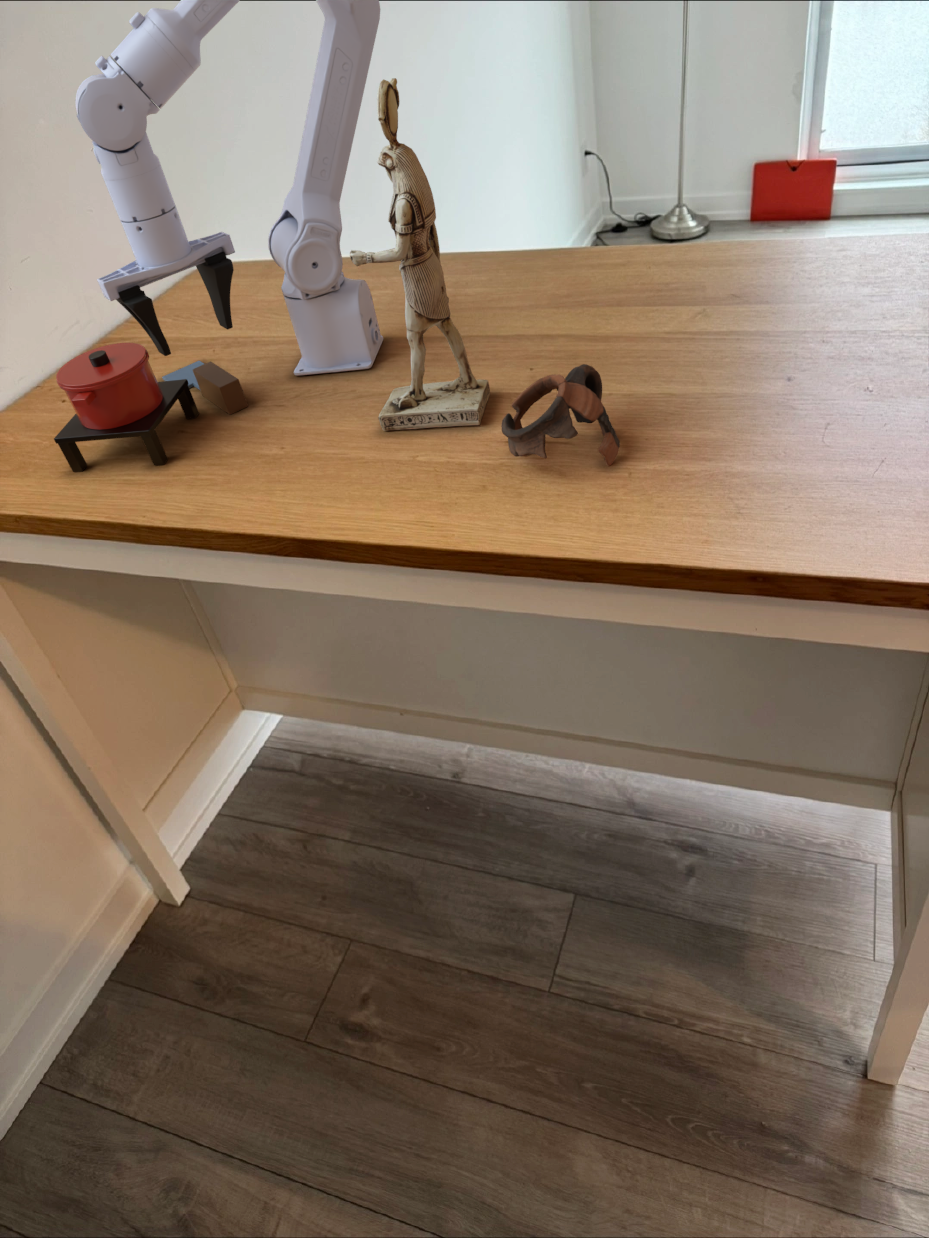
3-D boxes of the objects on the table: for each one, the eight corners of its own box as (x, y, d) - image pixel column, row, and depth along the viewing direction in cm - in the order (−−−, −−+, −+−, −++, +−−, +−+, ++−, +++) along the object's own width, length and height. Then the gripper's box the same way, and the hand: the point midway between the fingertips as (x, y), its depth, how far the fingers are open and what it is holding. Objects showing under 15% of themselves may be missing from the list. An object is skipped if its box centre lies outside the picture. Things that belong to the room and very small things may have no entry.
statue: (397, 397, 95) (323, 81, 75) (492, 391, 92) (441, 62, 72) (381, 432, 89) (297, 103, 70) (481, 427, 87) (423, 84, 67)
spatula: (259, 401, 99) (249, 373, 97) (218, 420, 98) (208, 393, 95) (200, 363, 110) (190, 337, 108) (162, 379, 108) (152, 354, 106)
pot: (202, 409, 100) (167, 322, 93) (162, 469, 91) (120, 378, 84) (116, 417, 102) (76, 333, 96) (68, 476, 93) (20, 388, 87)
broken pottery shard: (612, 490, 76) (556, 426, 72) (532, 510, 83) (477, 453, 79) (648, 392, 81) (598, 327, 77) (570, 419, 88) (520, 360, 84)
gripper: (195, 184, 94) (237, 307, 103) (67, 230, 88) (123, 355, 97) (223, 193, 89) (265, 321, 98) (90, 242, 84) (146, 372, 93)
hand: (196, 339), depth 97 cm, fingers open, 7 cm apart
